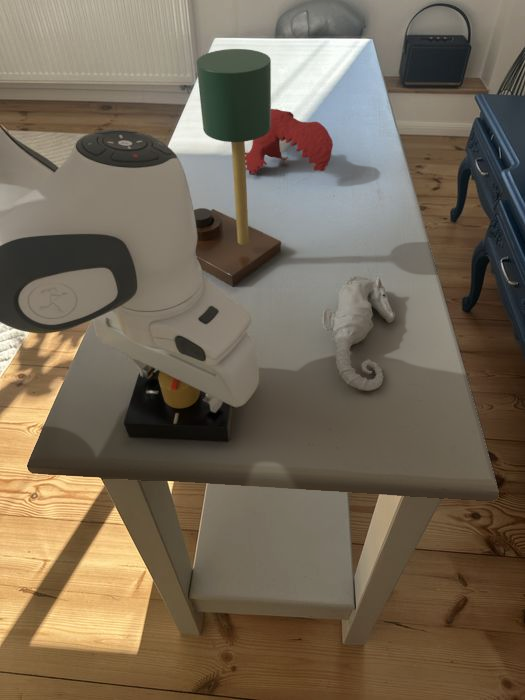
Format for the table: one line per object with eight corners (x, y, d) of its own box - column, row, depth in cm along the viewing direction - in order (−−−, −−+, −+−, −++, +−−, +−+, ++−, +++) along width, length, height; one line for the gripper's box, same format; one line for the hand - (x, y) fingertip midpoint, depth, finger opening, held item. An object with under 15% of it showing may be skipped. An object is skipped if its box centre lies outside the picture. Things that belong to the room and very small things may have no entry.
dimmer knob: (167, 378, 59) (162, 358, 57) (202, 380, 59) (199, 359, 56) (159, 407, 56) (153, 387, 54) (196, 409, 56) (192, 389, 53)
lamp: (203, 243, 77) (180, 62, 58) (241, 219, 82) (231, 44, 63) (245, 265, 73) (235, 78, 54) (282, 239, 78) (285, 58, 58)
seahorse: (421, 388, 60) (395, 271, 71) (338, 373, 57) (324, 253, 68) (398, 406, 64) (377, 293, 75) (319, 393, 61) (310, 276, 72)
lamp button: (187, 223, 82) (185, 214, 81) (202, 214, 84) (201, 205, 82) (201, 231, 80) (200, 222, 79) (217, 222, 82) (216, 212, 81)
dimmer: (128, 437, 57) (122, 422, 55) (146, 378, 63) (141, 363, 61) (228, 442, 57) (227, 427, 54) (236, 382, 63) (235, 366, 60)
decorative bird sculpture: (312, 210, 99) (351, 142, 95) (289, 194, 91) (331, 119, 87) (226, 163, 113) (257, 102, 110) (199, 146, 105) (232, 80, 102)
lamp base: (165, 248, 83) (161, 228, 80) (214, 219, 89) (212, 199, 86) (232, 287, 76) (231, 266, 73) (281, 252, 82) (281, 231, 79)
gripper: (61, 287, 49) (97, 374, 59) (229, 362, 42) (237, 447, 52) (104, 255, 53) (131, 342, 63) (265, 319, 45) (267, 405, 56)
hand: (180, 390), depth 57 cm, fingers open, 8 cm apart
